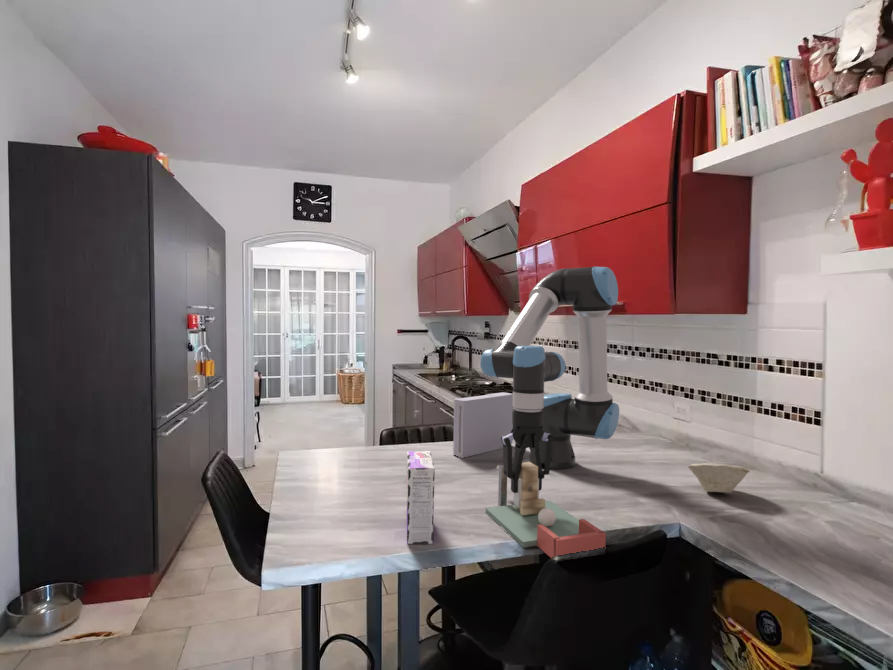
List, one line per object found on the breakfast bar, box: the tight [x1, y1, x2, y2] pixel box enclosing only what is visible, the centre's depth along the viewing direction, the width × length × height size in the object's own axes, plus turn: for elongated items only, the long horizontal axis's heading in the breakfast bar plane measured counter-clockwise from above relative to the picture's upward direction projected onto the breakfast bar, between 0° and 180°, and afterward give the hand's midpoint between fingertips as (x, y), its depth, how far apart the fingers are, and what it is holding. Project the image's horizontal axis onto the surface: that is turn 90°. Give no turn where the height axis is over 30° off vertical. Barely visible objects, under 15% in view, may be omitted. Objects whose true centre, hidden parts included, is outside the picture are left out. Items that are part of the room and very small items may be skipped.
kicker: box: [496, 461, 546, 515], centre depth 127 cm, size 6×20×11 cm, turn 19°
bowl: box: [688, 462, 750, 494], centre depth 140 cm, size 15×14×10 cm
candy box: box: [406, 450, 436, 545], centre depth 112 cm, size 14×6×16 cm, turn 5°
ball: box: [538, 508, 556, 527], centre depth 112 cm, size 4×4×4 cm
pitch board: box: [485, 500, 579, 549], centre depth 116 cm, size 18×20×1 cm
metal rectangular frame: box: [497, 464, 508, 506], centre depth 128 cm, size 8×2×10 cm, turn 109°
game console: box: [452, 391, 515, 459], centre depth 182 cm, size 6×27×20 cm, turn 133°
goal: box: [536, 518, 607, 559], centre depth 103 cm, size 11×8×4 cm
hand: (526, 504), depth 122 cm, fingers closed on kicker, 4 cm apart
